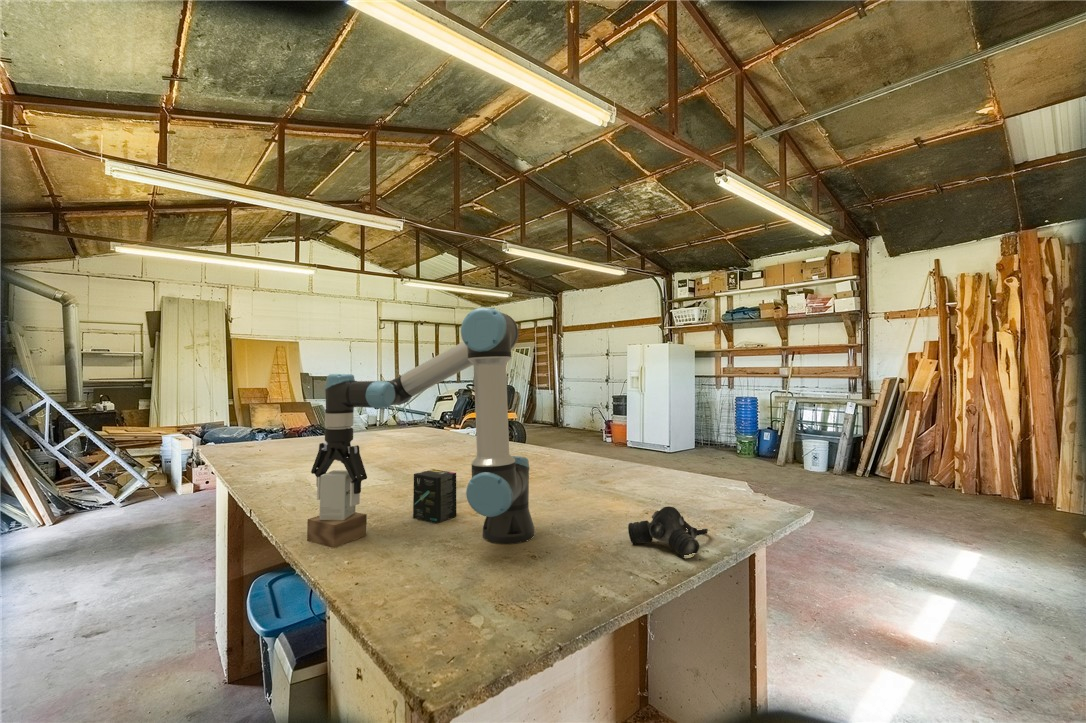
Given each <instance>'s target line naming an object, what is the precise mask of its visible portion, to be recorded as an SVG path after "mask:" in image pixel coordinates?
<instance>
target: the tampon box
mask: <svg viewBox="0 0 1086 723" xmlns="http://www.w3.org/2000/svg"><path fill="white" fill-rule="evenodd" d="M412 496H413V497H412V498H413V499H412V500H413V502H412V506H413V507H412V508H413V509H412V519H415V520H420V521H424V522H428V523H432V524H439V523H441V522H445V521H448V520H450V519H453V518H456V517H457V516H458V514H457V472H453V471H447V470H440V469H430V470H429V469H428V470H425V471H422V472H418V473H417V472H416V473H414V474H413V495H412Z"/></svg>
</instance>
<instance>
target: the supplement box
mask: <svg viewBox="0 0 1086 723" xmlns="http://www.w3.org/2000/svg"><path fill="white" fill-rule="evenodd" d="M351 481H352V479H351V477H350V475H349V473H348V471H347V470H346V469H345V470H344V469H343V470H342V469H340V470H336V469H335V470H331V471H329V472H328V471H327V472H326V474H323V475H321V481H320V500H319V516H320V518H319V520H335V521H344V520H345V519H347V518H348V517H349V516H351V515H353V514H354V513H355V512H356V509H357V508H356V506H357V505H355V506H350V482H351Z"/></svg>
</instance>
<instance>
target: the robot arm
mask: <svg viewBox="0 0 1086 723" xmlns="http://www.w3.org/2000/svg"><path fill="white" fill-rule="evenodd" d="M519 333H520V332H519V328H518V324H517V322H516V320H514V319H513V318H512V317H511V316H510V315H508V314H507V313H503V312H501V310H498V309H496V308H493V307H487V306H486V307H485V306H483V307H482V306H480V307H478V308H474V309H472V310H471V311H470V312H469V313H468V314H467V315H466V316H465V317H464V318H463V320H462V323H461V327H460V337H461V339H462V341H461V342H460V343H458V344H456V345H455V346H454V345H453V347H451V348H449V349H447V350H445V351H443V352H441V353H439V354H437V355H436V356H434V357H431V358H430V359H428V360H426V361H424V362H422V363H421V364H419V365H417V366H415V367H413V368H411V369H410V370H408V371H406V372H405V373H403V374H401V375H399V376H396V378H394V379H392V380H391V379H390V380H370V381H369V380H366V381H365V380H363V381H362V380H359V381H358V380H356V379H355V375H354V374H351V373H350V374H349V373H348V374H346V373H343V374H342V373H329V374H328V375H327V376H326V378H325V379H326V382H325V389H324V391H325V413H324V427H325V430H324V442H321V443H319V445H318V452H317V454H316V457H315V459H314V463H313V466H312V468H311V471H310V472H311V474H313V475H315V477H316V488H317V489H316V500H318V501H320V481H321V475H323V474H326V473H328V471H329V469H330V467H331V466H332V464H333V463H334V461H337V462H340V463H341V464H343V466H344V467H345V470H347V471H348V473H349V475H350V477H351V479H352V481H351V482H350V506H355V505H356V506H357V505H359V504H360V503H361V502H360V499H361V498H360V497H361V496H360V495H361V493H362V482H363V481H364V480H367V479H368V475H367V472H366V468H365V466H364V463H363V459H362V457H361V454H360V446H359V445H351V442H352V441H353V440H354V428H353V426H354V410H355V408H371V409H384V408H385V409H386V408H389V407H391V406H401V405H403V404H407V403H408V402H409V401H411V399H412V397H415V396H416V395H418V394H420V393H422V392H423V391H426V390H427V389H429V388H432V387H433V386H435V385H437V384H439V383H441V382H443V381H445V380H447V379H448V378H451V377H453V376H454V375H456V374H458V373H460V372H461V371H464V370H465V369H467V368H469V367H471V366H473V375H474V376H473V378H474V380H473V382H474V407H475V408H474V410H475V411H474V412H475V431H476V432H475V435H476V436H475V437H476V438H475V439H476V456H475V458H474V459H473V460H472V461H471V478H470V479H469V482H468V483H467V487H466V492H465V494H466V500H467V502H468V504H469V506H470V507H471V509H472V510H474V512H475V513H477V514H478V515H481V516H483V517H485V520H484V522H483V526H482V538H483V540H486V541H487V542H490V543H494V544H501V545H507V544H508V545H513V544H521V543H525V542H527V540H528V541H530V540H532V539H533V538H534V537H535V526H534V522H533V518H532V516H531V512H530V509H529V508H530V507H529V506H530V505H529V499H530V498H529V497H530V494H529V493H530V487H529V486H530V464H529V459H528V458H527V457H525V456H518V455H511V454H510V441H509V440H510V437H509V433H510V432H509V412H508V411H509V408H508V407H509V406H508V384H507V382H508V381H507V364H508V362H509V361H510V360H511V359H512V349H513V348H514V347H515V346H516V344H517V342H518V339H519ZM533 536H534V537H533ZM532 537H533V538H532ZM531 538H532V539H531Z"/></svg>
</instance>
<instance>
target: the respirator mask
mask: <svg viewBox="0 0 1086 723" xmlns="http://www.w3.org/2000/svg"><path fill="white" fill-rule="evenodd" d="M651 519H652V520H651V521H649V520H647V519H646V520H640V521H635V522H629V523H628V528H627V529H628V536H629V539H630V542H631V544H632V543H636V544H638V543H640V544H646V543H652V542H653V539H655V540H657V541H660V542H663V543H668V546H670V548H671V549H672V550H674V551H675V552H676V553H677V554H678V555H679V554H680V555H681V556H680V555H679V556H680V557H681V558H683V557H684V555H689V554H692V553H698V552H699V550H700V543H699V542H698V540H697V539H696V538H697V536H700V535H701V536H702V535H707V534H708V528H701V529H702V530H697V529H698V528H697V527H693V526H691V524H689V523H688V522H687V521H686V520H685V518H684V515H683V516H682V515H681V514H680V512H679V510H678V509H677V508H676V507H674V506H664V507H662V508H661V509H660V510H656V511H655V512H654V513H653V514H652V515H651ZM686 528H687V529H688V530H686ZM642 542H643V543H642Z"/></svg>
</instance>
